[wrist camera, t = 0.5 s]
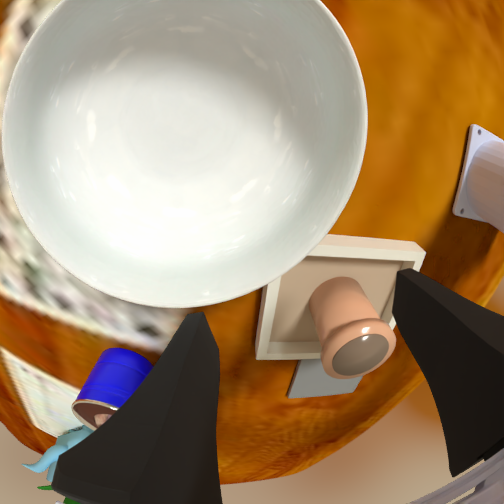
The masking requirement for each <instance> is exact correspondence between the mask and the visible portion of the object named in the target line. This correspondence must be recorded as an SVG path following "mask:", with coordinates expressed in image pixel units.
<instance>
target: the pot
mask: <svg viewBox="0 0 504 504" xmlns="http://www.w3.org/2000/svg"><path fill="white" fill-rule="evenodd" d="M309 310H310V313H311V316H312V319H313V322H314V325H315V328H316V331H317V334H318V337H319V341H320V344H321V347H322V349H321V354H320V358H321V362H322V365H323V368H324V371H325V372H326V374H327V375H329V376H330V377H333V378H336V379H351V378H356V377H359V376H362V375H365V374H367V373H369V372H371V371H373V370H375V369H376V368H378V367H379V366H380V365H382V364H383V363H384V362H385V361H386V360H387V359H388V358H389V356H390V355H391V354H392V352H393V350H394V348H395V345H396V337H395V334H394V332H393V331H392V329H391V327H390V326H389V324H388V323H387V322H385V321H384V320H381V319H380V317H379V316H378V314H377V312H376V310H375V309H374V307H373V305H372V304H371V302H370V300H369V299H368V297H367V295H366V294H365V292H364V290H363V289H362V287H361V286H360V284H359V283H358V282H357V281H356V280H355V279H353V278H350V277H344V276H343V277H335V278H332V279H329V280H327V281H325V282H323V283H322V284H320V285H319V286H318V287H317V288H316V289H315V290H314V292H313V293H312V295H311V297H310V300H309Z"/></svg>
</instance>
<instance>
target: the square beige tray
mask: <svg viewBox="0 0 504 504" xmlns="http://www.w3.org/2000/svg"><path fill="white" fill-rule="evenodd" d="M425 254H426V252H425V251H424V250H423V249H422V248H421V247H420V246H419V245H418V244H417V243H415V242H411V241H400V240H390V239H379V238H367V237H356V236H344V235H331V234H326V235H325V237H324V238H323V239H322V240H321V241H320V243H319V244H318V245H317V246H316V247H315V248H314V249H313V250H312V251H311V252H310V253H309V254H308V255H307V256H306V257H305V258H304V259H303V260H302V261H301V262H299V263H298V264H297V265H296V266H294V267H293V268H292V269H291V270H289V271H288V272H286V273H285V274H283V275H282V276H280V277H279V278H277V279H276V280H274V281H273V282H271V283H269V284H267V285H265V286H263V292H262V299H261V306H260V313H259V320H258V327H257V334H256V341H255V351H256V360H293V359H319V358H320V354H321V349H322V347H321V344H320V341H319V337H318V334H317V331H316V328H315V325H314V322H313V319H312V316H311V313H310V310H309V300H310V297H311V295H312V293H313V292H314V290H315V289H316V288H317V287H318V286H319V285H320V284H322V283H323V282H325V281H327V280H329V279H332V278H335V277H343V276H344V277H350V278H353V279H355V280H356V281H357V282H358V283H359V284H360V286H361V287H362V289H363V290H364V292H365V294H366V295H367V297H368V299H369V300H370V302H371V304H372V305H373V307H374V309H375V310H376V312H377V314H378V316H379V317H380V319H381V320H384V321H385V322H387V323H388V324H389V326H390V327H391V329H392V331H393V329H394V327H395V325H396V322H395V319H394V317H393V314H392V306H393V299H394V292H395V284H396V274H397V271H400V270H404V269H407V268H412V269H414V270H416V271H418V272H419V270H420V268H421V265H422V262H423V260H424V257H425Z"/></svg>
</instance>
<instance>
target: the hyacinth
mask: <svg viewBox="0 0 504 504" xmlns="http://www.w3.org/2000/svg"><path fill="white" fill-rule="evenodd" d="M152 368H153V365H152V364H151V363H150V362H149V361H148V360H147V359H145V358H144V357H143V356H141V355H139V354H137V353H135V352H133V351H130V350H127V349H122V348H110V349H107V350H105V351H104V352H102V354H101V356H100V358H99V359H98V361H97V363H96V365H95V366H94V368H93V370H92V371H91V373H90V375H89V377H88V379H87V381H86V382H85V384H84V386H83V388H82V390H81V391H80V393H79V395H78V397H77V399H76V400H75V401H74V402H73V404H72V411H73V414H74V415H75V416H76V418H77V419H78V420H79V421H81V422H82V423H83V424H84V425H86V426H87V427H89V428H90V429H92V430H94V431H95V430H96V429H97V428H99V427H100V426H101V425H102V424H103V423H104V422H106V421H107V420H108V419H109V418H110V417H111V416H112V415H113V414H114V413H115V412H116V411H117V410H118V409H119V408H120V407H121V406H122V405H123V404H124V403H125V402H126V401H127V400H128V399H129V397H130V396H131V395H132V394H133V393H134V392H135V391H136V389H137V388H138V387H139V386H140V385H141V383H142V382H143V381H144V379H145V378H146V377H147V375H148V374H149V372H150V371H151V370H152ZM37 488H38V489H42V490H53V489H52V488H51V485H49V486H41V487H37ZM63 503H64V504H81V503H78V502H76V501H74V500H72V499H69V498H67V497H66V498H65V500H64V502H63Z"/></svg>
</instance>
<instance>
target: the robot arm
mask: <svg viewBox="0 0 504 504" xmlns="http://www.w3.org/2000/svg"><path fill="white" fill-rule="evenodd" d="M452 211H453V214H455V215H456V216H460V217H465V218H470V219H474V220H478V221H483V222H487V223H490V224H491V225H493V226H494V227H495V228H497V229H498V230H500V231H501V232H503V233H504V141H503V140H502V139H500V138H498V137H497V136H495V135H494V134H492V133H490V132H489V131H487V130H485V129H483V128H482V127H480V126H478V125H476V124H471V126H470V130H469V137H468V143H467V149H466V154H465V160H464V165H463V169H462V174H461V178H460V182H459V187H458V191H457V194H456V198H455V202H454V205H453V210H452ZM460 211H461V212H460ZM392 314H393V317H394V319H395V322H396V324H397V326H398V329H399V331H400V333H401V335H402V337H403V339H404V340H405V342H406V344H407V345H408V347H409V349H410V351H411V352H412V354H413V356H414V358H415V359H416V361H417V363H418V365H419V367H420V368H421V370H422V372H423V374H424V376H425V378H426V380H427V382H428V384H429V386H430V389H431V392H432V395H433V397H434V400H435V403H436V406H437V409H438V412H439V416H440V419H441V423H442V427H443V431H444V436H445V440H446V446H447V452H448V459H449V469H450V472H451V475H452V477H455V476H457V475H459V474H460V473H462V472H464V471H465V470H467V469H469V468H470V467H472V466H473V465H475V464H476V463H478V462H480V461H481V460H483V459H484V461H485V462H484V463H482V464H481V465H479V466H478V467H476V468H475V469H473V470H472V471H470V472H468V473H467V474H465V475H463V476H462V477H460V478H458V479H457V480H455V481H453V482H451V483H449V484H447V485H446V486H444V487H442V488H440V489H438V490H436V491H434V492H432V493H430V494H428V495H426V496H424V497H421V498H419V499H417V500H415V501H412V502H410V503H408V504H446V503H448V502H449V501H451V500H453V499H455V498H456V497H458V496H460V495H462V494H463V493H465V492H467V491H468V490H470V489H472V488H473V487H475V486H476V485H477V486H476V487H475V491H474V492H473V493H472V494H470V495H468V496H466V497H464V498H462V499H460V500H458V501H456V502H454V503H453V504H504V316H502V315H500V314H497V313H495V312H492V311H490V310H488V309H486V308H484V307H482V306H480V305H478V304H476V303H474V302H472V301H470V300H468V299H466V298H464V297H462V296H461V295H459V294H457V293H455V292H453V291H452V290H450V289H448V288H446V287H445V286H443V285H441V284H439V283H438V282H436V281H434V280H432V279H431V278H429V277H427V276H425V275H424V274H422V273H420V272H418V271H416V270H414V269H412V268H407V269H404V270H400V271H397V274H396V284H395V292H394V299H393V306H392ZM219 381H220V361H219V349H218V346H217V344H216V342H215V339H214V337H213V334H212V332H211V330H210V327H209V325H208V322H207V320H206V317H205V315H204V312H199V313H193V314H187V316H186V317H185V319H184V320H183V322H182V323H181V325H180V327H179V328H178V330H177V331H176V333H175V335H174V336H173V338H172V340H171V341H170V343H169V344H168V346H167V347H166V349H165V351H164V352H163V354H162V355H161V357H160V358H159V360H158V361H157V363H156V364H155V365H154V367H153V368H152V370H151V371H150V372H149V374H148V375H147V377H146V378H145V379H144V381H143V382H142V383H141V385H140V386H139V387H138V388H137V389H136V391H135V392H134V393H133V394H132V395H131V396H130V397H129V399H128V400H127V401H126V402H125V403H124V404H123V405H122V406H121V407H120V408H119V409H118V410H117V411H116V412H115V413H114V414H113V415H112V416H111V417H110V418H109V419H108V420H107V421H106V422H104V423H103V424H102V425H101V426H100V427H99V428H97V429H96V430H95V431H94V432H93V433H91V434H90V435H89V436H87V437H86V438H85V439H83V440H82V441H81V442H79V443H78V444H76V445H75V446H73V447H72V448H70V449H69V450H67V451H65V452H64V453H62V454H60V455H59V456H58V460H57V464H56V468H55V471H54V476H53V480H52V484H51V488H52V489H53V490H54V491H56V492H57V493H59V494H61V495H63V496H65V497H67V498H69V499H72V500H74V501H76V502H78V503H81V504H223V503H222V497H221V489H220V481H219V472H218V460H217V445H216V420H217V407H218V394H219ZM56 504H64V503H62V502H60V501H56Z"/></svg>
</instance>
